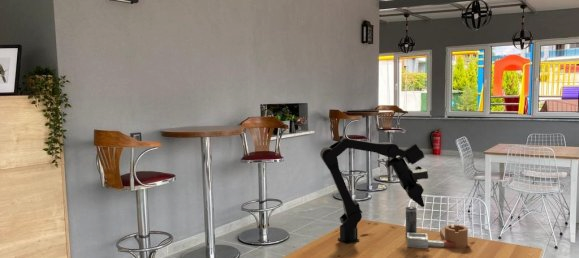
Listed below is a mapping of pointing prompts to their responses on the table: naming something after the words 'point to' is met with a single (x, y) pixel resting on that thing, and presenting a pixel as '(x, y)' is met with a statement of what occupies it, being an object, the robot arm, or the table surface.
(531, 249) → the table surface
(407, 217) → the dark metal cylinder
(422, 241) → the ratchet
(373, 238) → the table surface
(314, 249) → the table surface
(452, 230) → the bracket
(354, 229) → the robot arm
